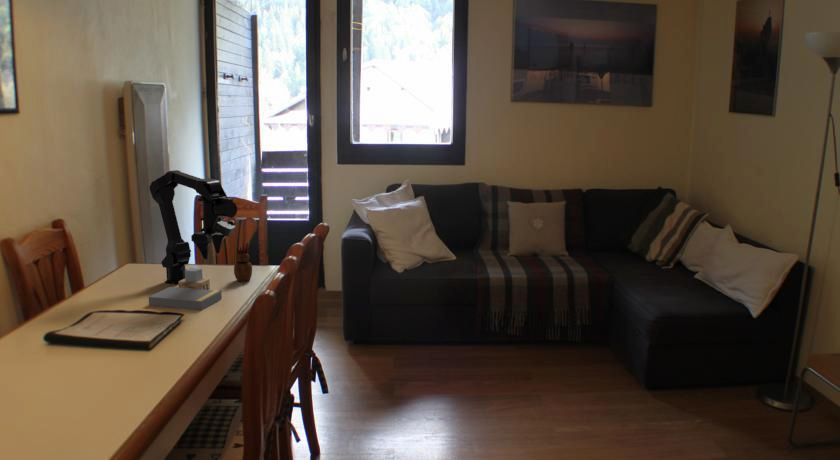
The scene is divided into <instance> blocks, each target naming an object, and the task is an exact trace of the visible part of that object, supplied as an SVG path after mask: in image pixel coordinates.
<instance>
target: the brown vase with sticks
mask: <svg viewBox="0 0 840 460" xmlns="http://www.w3.org/2000/svg"><path fill="white" fill-rule="evenodd" d="M248 246H249V244H248V242H246V244H244V243H243V244H242V246H240V248H238V249H237V253H236V256H235V258H236V262H235V263H234V266H233V274H234V277H235V279H236V280H237V281H238V282H241V281H242V282H243V281H245V282H248V281H250V280H251V279H252V274H253V266H252V265H253V264H252V263H251V262H250V261H249V260H250V254H249V253H248V252H249V248H248Z"/></svg>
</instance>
